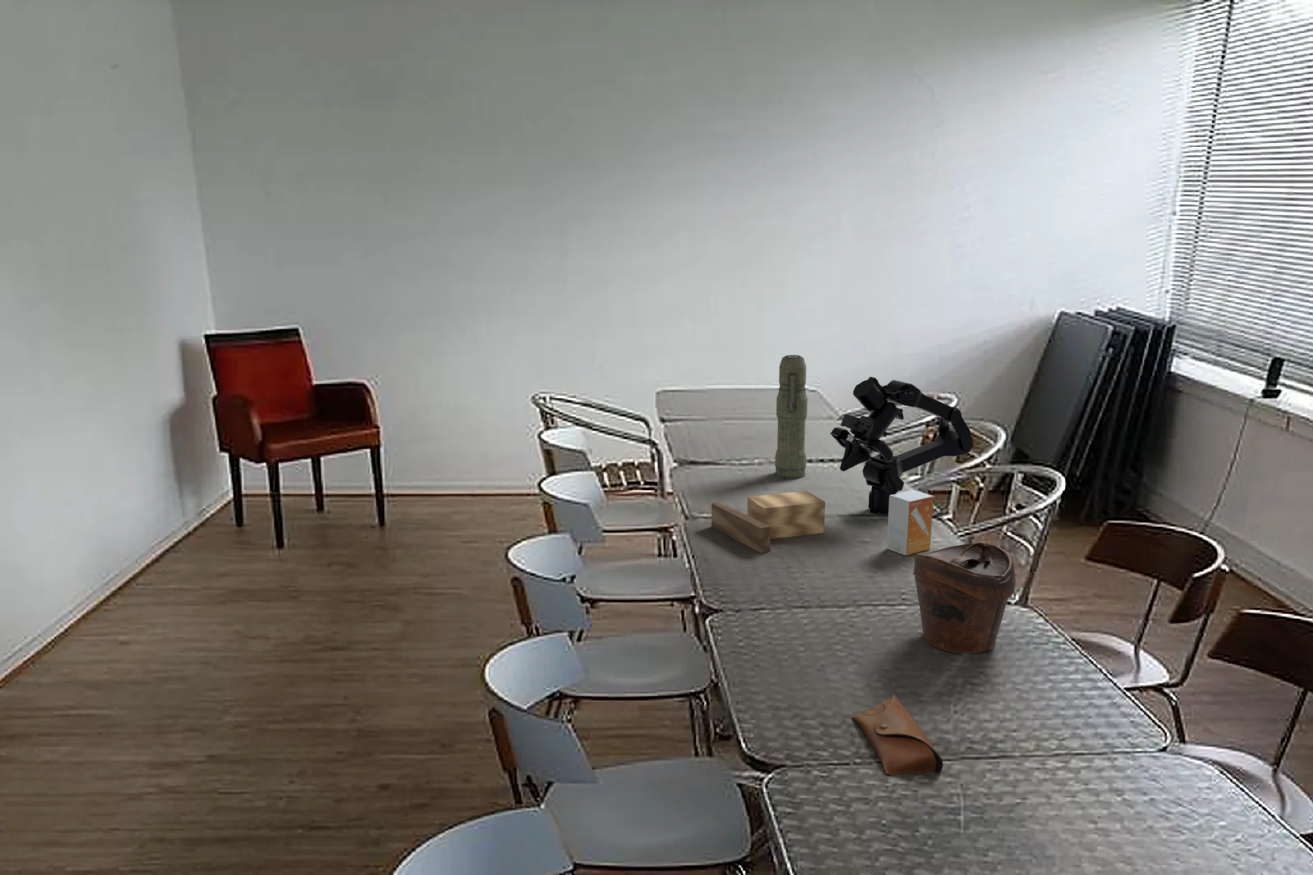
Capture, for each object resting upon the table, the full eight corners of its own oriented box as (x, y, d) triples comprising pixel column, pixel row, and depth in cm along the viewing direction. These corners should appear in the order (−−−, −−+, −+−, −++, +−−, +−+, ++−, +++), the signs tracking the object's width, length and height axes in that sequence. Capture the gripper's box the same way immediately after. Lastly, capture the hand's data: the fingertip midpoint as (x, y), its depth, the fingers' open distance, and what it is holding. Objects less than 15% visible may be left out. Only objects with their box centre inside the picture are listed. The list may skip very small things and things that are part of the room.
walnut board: (720, 524, 253) (720, 501, 251) (770, 551, 234) (770, 526, 232) (711, 526, 251) (711, 503, 250) (761, 553, 233) (761, 528, 231)
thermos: (802, 469, 303) (805, 352, 294) (808, 480, 291) (811, 359, 283) (773, 469, 303) (775, 353, 295) (777, 480, 291) (779, 359, 283)
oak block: (806, 521, 256) (806, 490, 254) (824, 533, 246) (825, 501, 244) (747, 527, 251) (747, 496, 249) (763, 540, 242) (763, 508, 240)
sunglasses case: (846, 714, 160) (868, 679, 159) (881, 732, 162) (904, 697, 161) (886, 777, 143) (912, 738, 142) (926, 796, 145) (951, 758, 144)
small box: (906, 556, 230) (909, 501, 227) (885, 548, 235) (888, 494, 232) (931, 549, 234) (934, 495, 231) (910, 542, 239) (913, 489, 236)
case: (1008, 621, 194) (1014, 532, 190) (1015, 668, 176) (1021, 570, 171) (912, 613, 199) (915, 526, 195) (909, 658, 180) (912, 563, 176)
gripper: (837, 396, 260) (801, 443, 257) (885, 409, 244) (847, 459, 241) (860, 422, 265) (825, 468, 263) (909, 437, 249) (872, 486, 247)
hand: (841, 470), depth 253 cm, fingers closed
